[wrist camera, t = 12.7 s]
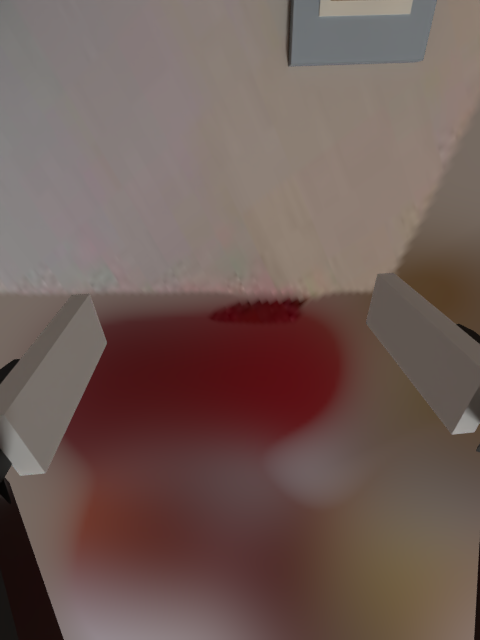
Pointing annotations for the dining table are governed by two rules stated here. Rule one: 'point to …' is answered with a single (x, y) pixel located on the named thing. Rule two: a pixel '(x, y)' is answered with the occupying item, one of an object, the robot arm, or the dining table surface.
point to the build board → (359, 31)
